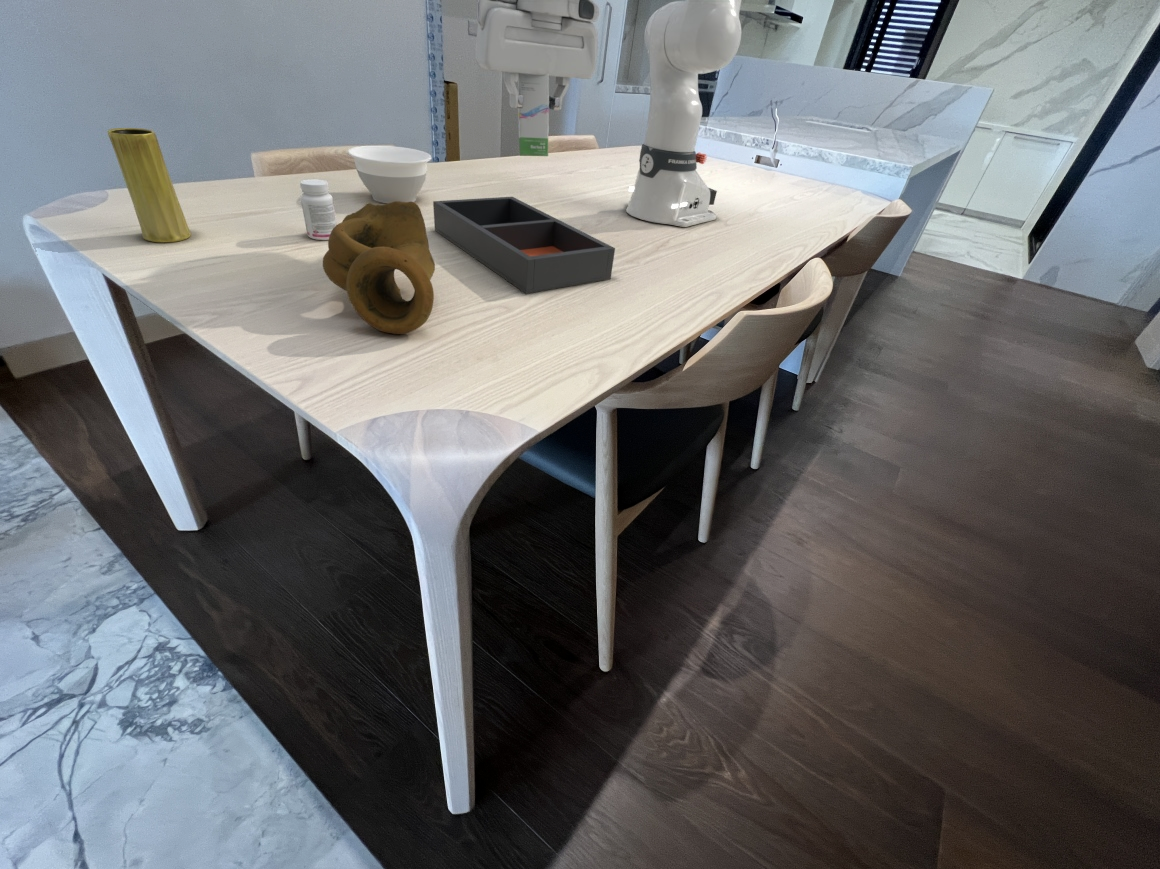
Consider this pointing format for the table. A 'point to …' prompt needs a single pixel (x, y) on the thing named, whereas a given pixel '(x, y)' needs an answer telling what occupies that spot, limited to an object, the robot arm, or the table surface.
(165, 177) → the vase
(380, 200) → the bowl
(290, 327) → the table surface
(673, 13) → the robot arm
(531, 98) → the ink box
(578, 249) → the organiser
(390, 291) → the brown looped sculpture
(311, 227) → the pill bottle
